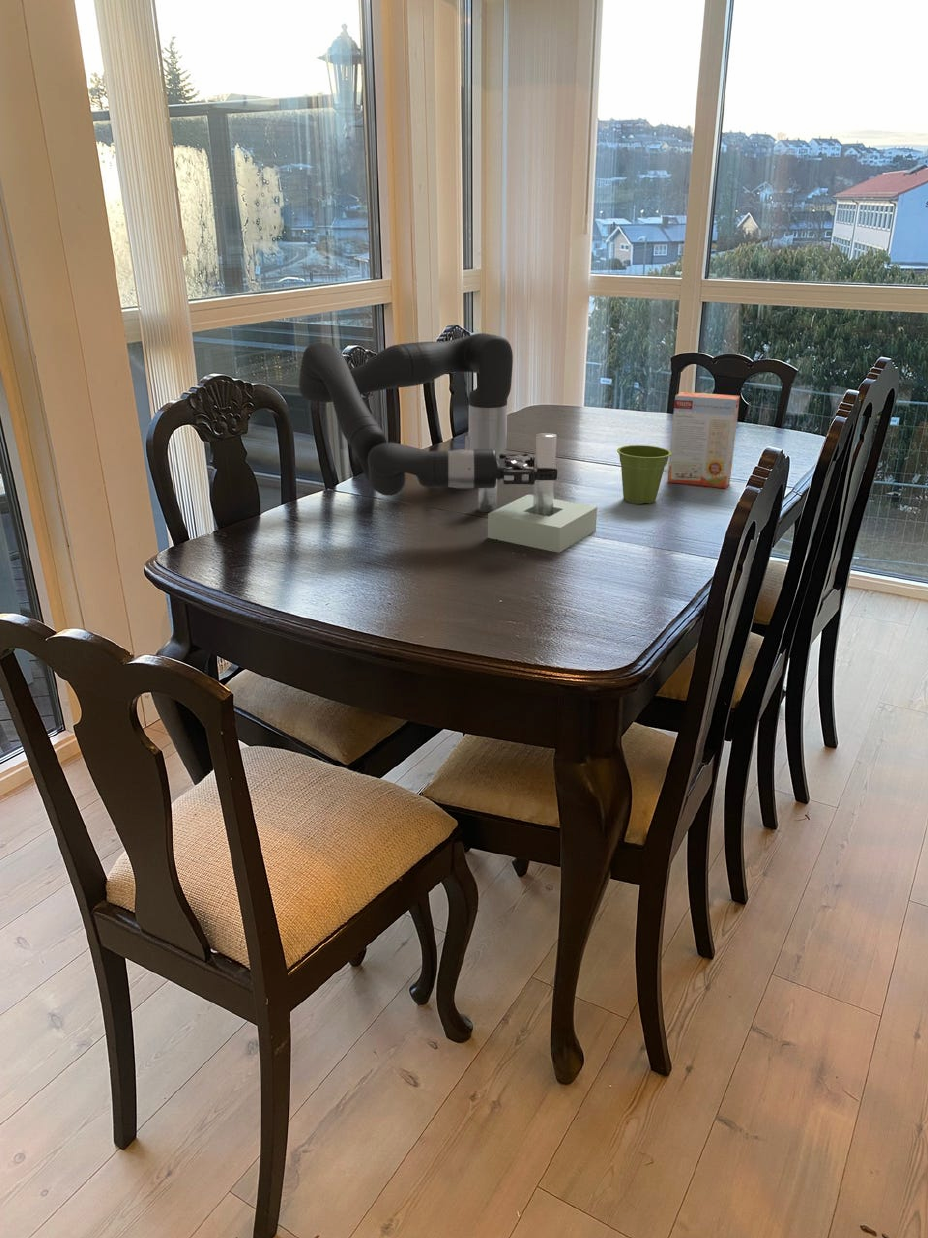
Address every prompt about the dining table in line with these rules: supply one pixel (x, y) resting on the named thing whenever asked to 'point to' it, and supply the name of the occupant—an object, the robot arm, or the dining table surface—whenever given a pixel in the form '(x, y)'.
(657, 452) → the plant pot
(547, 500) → the long steel pin
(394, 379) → the robot arm
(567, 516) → the hole block
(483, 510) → the short steel pin
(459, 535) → the dining table surface
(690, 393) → the cracker box
